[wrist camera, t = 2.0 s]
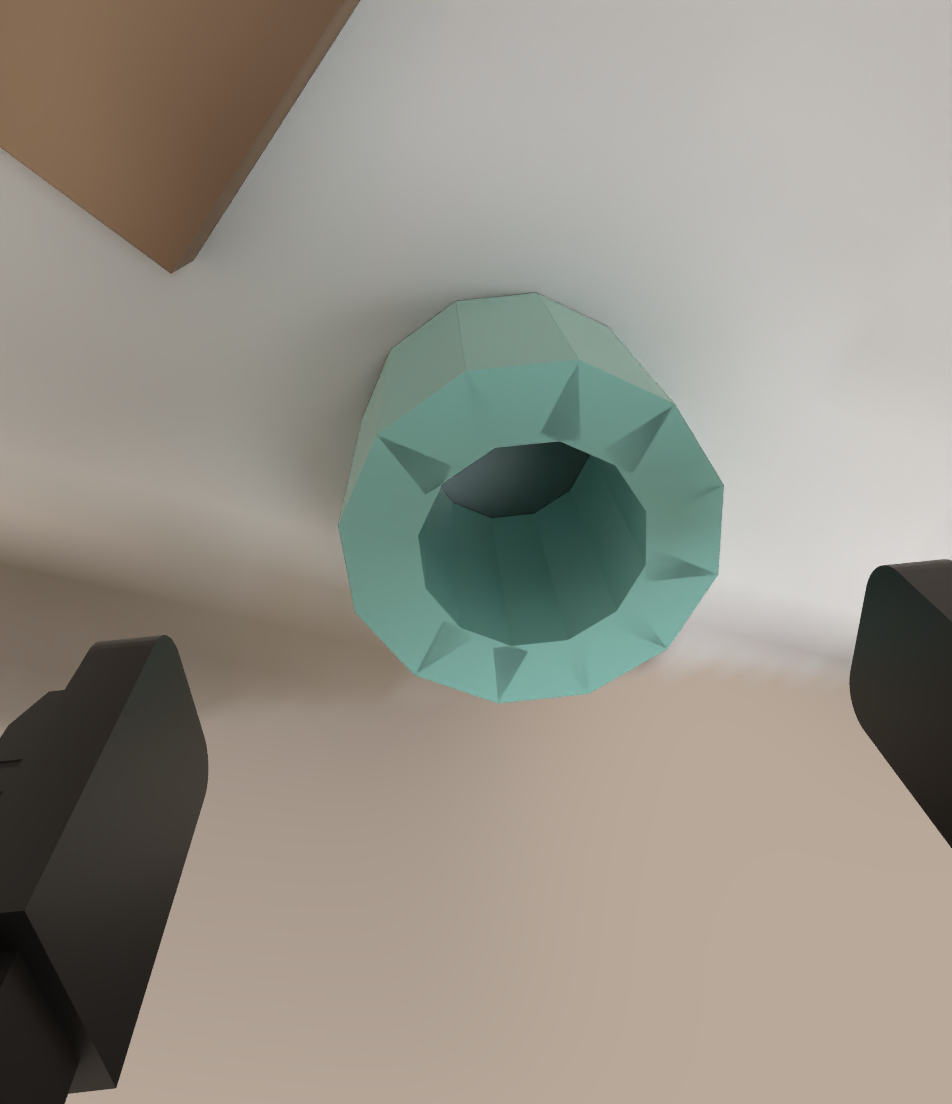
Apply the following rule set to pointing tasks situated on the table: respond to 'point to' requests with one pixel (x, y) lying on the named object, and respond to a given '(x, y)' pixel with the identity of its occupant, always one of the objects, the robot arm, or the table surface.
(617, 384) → the teal short hollow cylinder
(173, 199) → the carrier plate
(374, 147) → the table surface
